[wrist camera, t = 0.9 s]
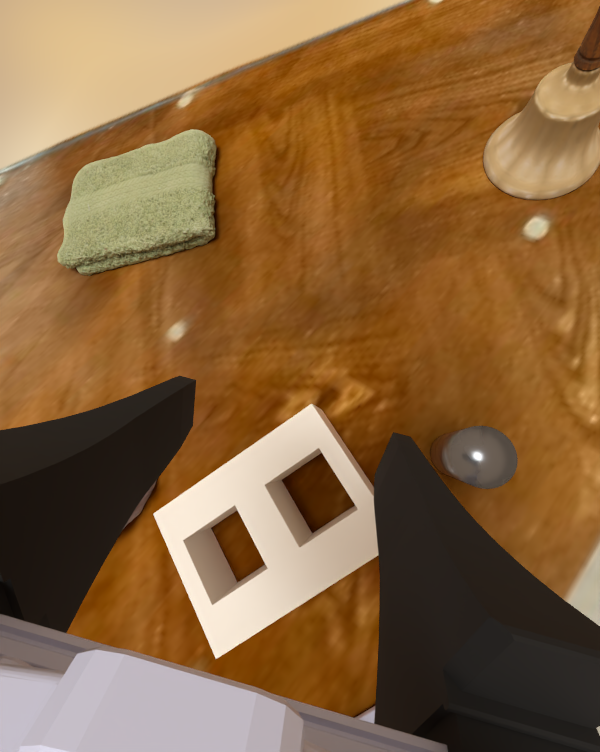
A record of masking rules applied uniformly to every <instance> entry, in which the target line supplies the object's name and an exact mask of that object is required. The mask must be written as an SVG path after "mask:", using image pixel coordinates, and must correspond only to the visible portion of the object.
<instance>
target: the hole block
mask: <svg viewBox="0 0 600 752" xmlns="http://www.w3.org/2000/svg"><path fill="white" fill-rule="evenodd" d="M321 453H322V454H323V455H324V457H325V458H326V460H327V462H328V463H329V465H330V466H331V468H332V469H333V471H334V473H335V474H336V476H337V477H338V479H339V480H340V482H341V484H342V485H343V487H344V488H345V490H346V491H347V493H348V495H349V496H350V498H351V499H352V501H353V502H354V504H355V506H353V507H352V508H350V509H349V510H347V511H345V512H344V513H342V514H341V515H339V516H338V517H336V518H335V519H333V520H332V521H330V522H329V523H327V524H326V525H324V526H323V527H321V528H320V529H318V530H317V531H315V532H314V533H312V532H311V530H310V528H309V527H308V525H307V523H306V521H305V520H304V518H303V516H302V515H301V513H300V511H299V509H298V508H297V506H296V504H295V502H294V501H293V499H292V497H291V496H290V494H289V492H288V490H287V489H286V487H285V485H284V483H283V482H282V479H284V478H285V477H287V476H288V475H290V474H291V473H293V472H294V471H296V470H297V469H299V468H300V467H301V466H303V465H304V464H306V463H307V462H309V461H310V460H312V459H313V458H315V457H316V456H318V455H319V454H321ZM237 510H238V512H239V514H240V516H241V518H242V520H243V522H244V524H245V526H246V528H247V530H248V531H249V533H250V535H251V537H252V539H253V541H254V543H255V545H256V547H257V549H258V551H259V553H260V555H261V557H262V558H263V560H264V562H265V565H263V566H262V567H260V568H259V569H257V570H256V571H254V572H253V573H251V574H250V575H248V576H247V577H245V578H244V579H242V580H241V581H239V582H238V583H237V580H236V578H235V576H234V574H233V572H232V570H231V568H230V566H229V564H228V562H227V560H226V558H225V556H224V554H223V552H222V549H221V547H220V545H219V543H218V541H217V539H216V537H215V535H214V533H213V531H212V529H211V528H212V527H213V526H215V525H216V524H218V523H219V522H221V521H222V520H224V519H225V518H226V517H228V516H229V515H231V514H232V513H234V512H235V511H237ZM153 515H154V517H155V519H156V522H157V524H158V526H159V528H160V531H161V533H162V535H163V538H164V540H165V542H166V545H167V547H168V549H169V552H170V554H171V556H172V558H173V561H174V563H175V565H176V568H177V570H178V572H179V575H180V577H181V579H182V582H183V584H184V586H185V588H186V591H187V593H188V595H189V598H190V600H191V602H192V605H193V607H194V609H195V612H196V614H197V616H198V618H199V621H200V623H201V625H202V628H203V630H204V632H205V635H206V637H207V639H208V642H209V644H210V646H211V648H212V651H213V653H214V655H215V658H216V659H217V658H218V657H220V656H222V655H223V654H225V653H226V652H228V651H229V650H231V649H233V648H234V647H236V646H237V645H239V644H240V643H242V642H243V641H245V640H247V639H248V638H250V637H251V636H253V635H254V634H256V633H258V632H259V631H261V630H262V629H264V628H265V627H267V626H268V625H270V624H272V623H273V622H275V621H276V620H278V619H279V618H281V617H283V616H284V615H286V614H287V613H289V612H290V611H292V610H293V609H295V608H297V607H298V606H300V605H301V604H303V603H304V602H306V601H308V600H309V599H311V598H312V597H314V596H315V595H317V594H318V593H320V592H322V591H323V590H325V589H326V588H328V587H329V586H331V585H333V584H334V583H336V582H337V581H339V580H340V579H342V578H343V577H345V576H347V575H348V574H350V573H351V572H353V571H354V570H356V569H358V568H359V567H361V566H362V565H364V564H365V563H367V562H368V561H370V560H372V559H373V558H375V557H376V556H378V555H379V554H378V544H377V533H376V522H375V511H374V487H373V485H372V484H371V482H370V481H369V479H368V478H367V477H366V475H365V474H364V472H363V471H362V469H361V468H360V466H359V465H358V463H357V462H356V460H355V459H354V457H353V456H352V454H351V453H350V451H349V450H348V448H347V447H346V445H345V444H344V442H343V441H342V439H341V438H340V436H339V435H338V433H337V432H336V430H335V429H334V427H333V426H332V424H331V423H330V421H329V420H328V418H327V417H326V415H325V414H324V412H323V411H322V410H321V409H320V408H318V407H317V406H315V405H313V404H310V405H309V406H308V407H306V408H305V409H303V410H302V411H300V412H299V413H298V414H296V415H295V416H293V417H292V418H290V419H289V420H287V421H286V422H285V423H283V424H282V425H280V426H279V427H277V428H276V429H275V430H273V431H272V432H270V433H269V434H267V435H266V436H264V437H263V438H262V439H260V440H259V441H257V442H256V443H254V444H253V445H252V446H250V447H249V448H247V449H246V450H244V451H243V452H241V453H240V454H239V455H237V456H236V457H234V458H233V459H231V460H230V461H229V462H227V463H226V464H224V465H223V466H221V467H220V468H218V469H217V470H216V471H214V472H213V473H211V474H210V475H208V476H207V477H206V478H204V479H203V480H201V481H200V482H198V483H197V484H195V485H194V486H193V487H191V488H190V489H188V490H187V491H185V492H184V493H183V494H181V495H180V496H178V497H177V498H175V499H174V500H172V501H171V502H170V503H168V504H167V505H165V506H164V507H162V508H161V509H160V510H158V511H157V512H155V513H154V514H153Z"/></svg>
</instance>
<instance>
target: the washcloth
mask: <svg viewBox="0 0 600 752" xmlns="http://www.w3.org/2000/svg"><path fill="white" fill-rule="evenodd" d="M216 150H217V147H216V145H215V140H214V139H213V138H212V137H211V136H210V135H208V134H207V133H205V132H203V131H200V130H192V129H191V130H189V131H185V132H182V133H180V134H178V135H176V136H174V137H172V138H171V139H169V140H166V141H163V142H160V143H156V144H149V145H145V146H143V147H141V148H139V149H136V150H133V151H130V152H128V153H125V154H122V155H119V156H116V157H111V158H108V159H103V160H99V161H95V162H92V163H90V164H87V165H86V166H84V167H83V168H82V169H81V170H80V171H79V172H78V173H77V175H76V177H75V179H74V181H73V185H72V195H71V200H70V202H69V204H68V206H67V209H66V212H65V215H64V219H63V226H64V240H63V244H62V246H61V248H60V250H59V251H58V254H57V257H58V262H59V263H60V264H62V265H63V266H66V267H67V268H75V267H76V269H77V270H78V272H79V273H80V274H82V275H89V276H90V275H91V274H94V273H99V272H103V271H106V270H110V269H115V268H119V267H123V266H125V265H128V264H129V265H131V264H134V263H139V262H142V261H145V260H149V259H150V258H151V259H153V258H158V257H159V256H164V255H166V256H167V255H169V254H173V253H175V252H179V251H181V250H184V249H191V248H193V247H195V246H198V245H204V244H207V243H208V242H209V241H210V240H211V239H213V238H214V237H215V228H214V227H215V220H214V216H213V214H214V212H215V211H214V205H215V201H214V197H215V196H214V195H213V194H212V191H213V190H212V186H213V183H212V179H213V176H214V175H215V170H216V169H215V167H214V165H215V163H214V162H215V158H216Z"/></svg>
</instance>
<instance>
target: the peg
mask: <svg viewBox="0 0 600 752" xmlns="http://www.w3.org/2000/svg"><path fill="white" fill-rule="evenodd" d="M430 456H431V460H432V462H433V464H434V466H435V467H436V468H437V469H438V470H439V471H440V472H442V473H443V474H446V475H448V476H450V477H453V478H455V479H458V480H460V481H463V482H465V483H468V484H470V485H472V486H475V487H478V488H484V489H490V488H496V487H499V486H502V485H503V484H505V483H506V482H508V481H509V480H510V479H511V478H512V476H513V475H514V473H515V471H516V468H517V454H516V450H515V448H514V446H513V444H512V443H511V441H510V440H509V439H508V438H507V437H506V436H505V435H504V434H503V433H501V432H500V431H498V430H496V429H494V428H491V427H487V426H474V427H470V428H466V429H462V430H458V431H455V432H451V433H447V434H443V435H441V436H439V437H438V438H437V439H436V440H435V441H434V442H433V444H432V446H431V449H430Z"/></svg>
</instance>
